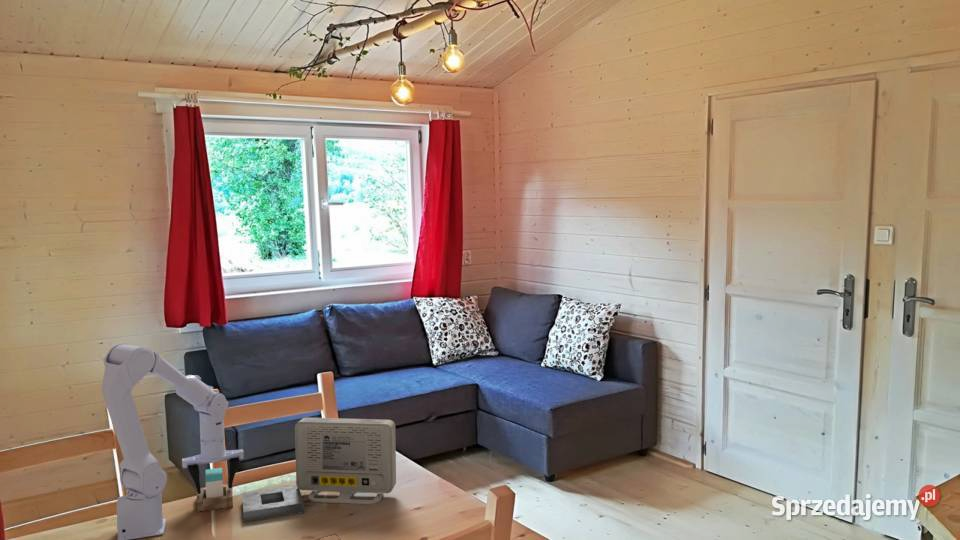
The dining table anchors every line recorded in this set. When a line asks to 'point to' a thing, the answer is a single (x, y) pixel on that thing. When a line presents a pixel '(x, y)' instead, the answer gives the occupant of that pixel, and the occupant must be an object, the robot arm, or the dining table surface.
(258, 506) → the port
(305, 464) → the network device
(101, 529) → the dining table surface
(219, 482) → the plug
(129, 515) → the robot arm
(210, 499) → the frame
